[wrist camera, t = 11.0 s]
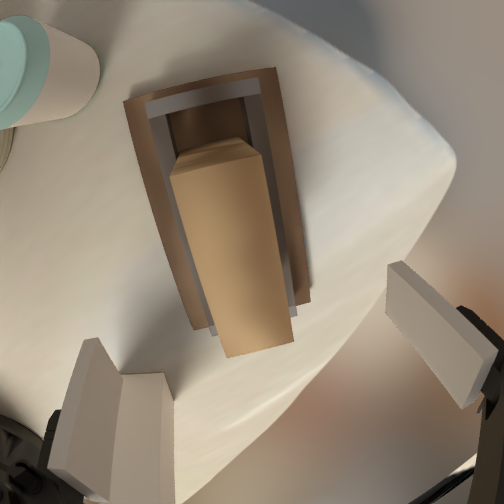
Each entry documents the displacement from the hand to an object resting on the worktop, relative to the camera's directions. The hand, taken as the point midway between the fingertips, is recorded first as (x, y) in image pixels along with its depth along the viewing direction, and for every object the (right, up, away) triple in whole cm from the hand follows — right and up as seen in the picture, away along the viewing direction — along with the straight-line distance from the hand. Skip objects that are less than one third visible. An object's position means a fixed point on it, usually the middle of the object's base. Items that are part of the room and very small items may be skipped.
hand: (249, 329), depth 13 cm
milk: (-13, -14, +23) cm, 30 cm away
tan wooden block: (-2, +6, +13) cm, 15 cm away
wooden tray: (-2, +7, +14) cm, 16 cm away
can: (-16, +18, +7) cm, 25 cm away
